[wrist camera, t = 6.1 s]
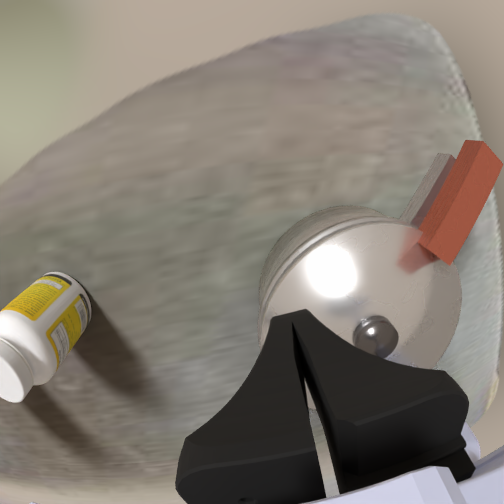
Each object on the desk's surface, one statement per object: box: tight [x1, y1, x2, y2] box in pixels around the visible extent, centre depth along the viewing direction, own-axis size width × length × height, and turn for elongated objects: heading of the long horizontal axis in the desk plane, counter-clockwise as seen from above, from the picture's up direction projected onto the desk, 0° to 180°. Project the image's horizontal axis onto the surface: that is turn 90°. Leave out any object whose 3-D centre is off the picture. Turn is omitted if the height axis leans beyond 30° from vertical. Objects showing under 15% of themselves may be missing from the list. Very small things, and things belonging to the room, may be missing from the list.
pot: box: [258, 153, 456, 351], centre depth 20 cm, size 20×13×5 cm, turn 149°
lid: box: [260, 140, 503, 410], centre depth 16 cm, size 18×12×2 cm
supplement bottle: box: [0, 272, 91, 403], centre depth 18 cm, size 5×5×10 cm
